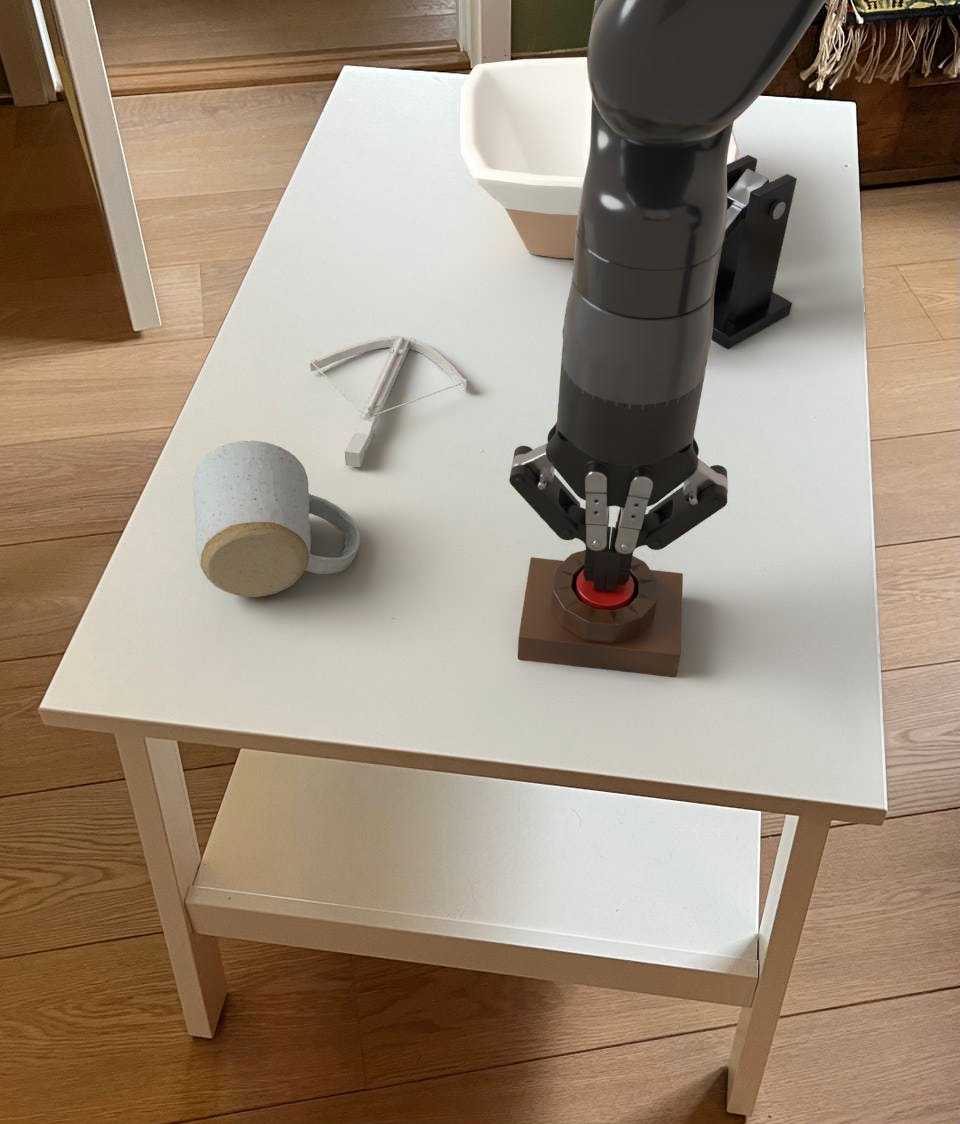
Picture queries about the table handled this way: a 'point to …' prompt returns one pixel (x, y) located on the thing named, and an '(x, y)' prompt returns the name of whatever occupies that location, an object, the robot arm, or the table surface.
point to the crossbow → (381, 385)
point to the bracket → (752, 261)
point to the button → (604, 594)
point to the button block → (601, 620)
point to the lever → (741, 198)
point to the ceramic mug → (261, 520)
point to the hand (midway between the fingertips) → (605, 581)
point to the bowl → (533, 144)
